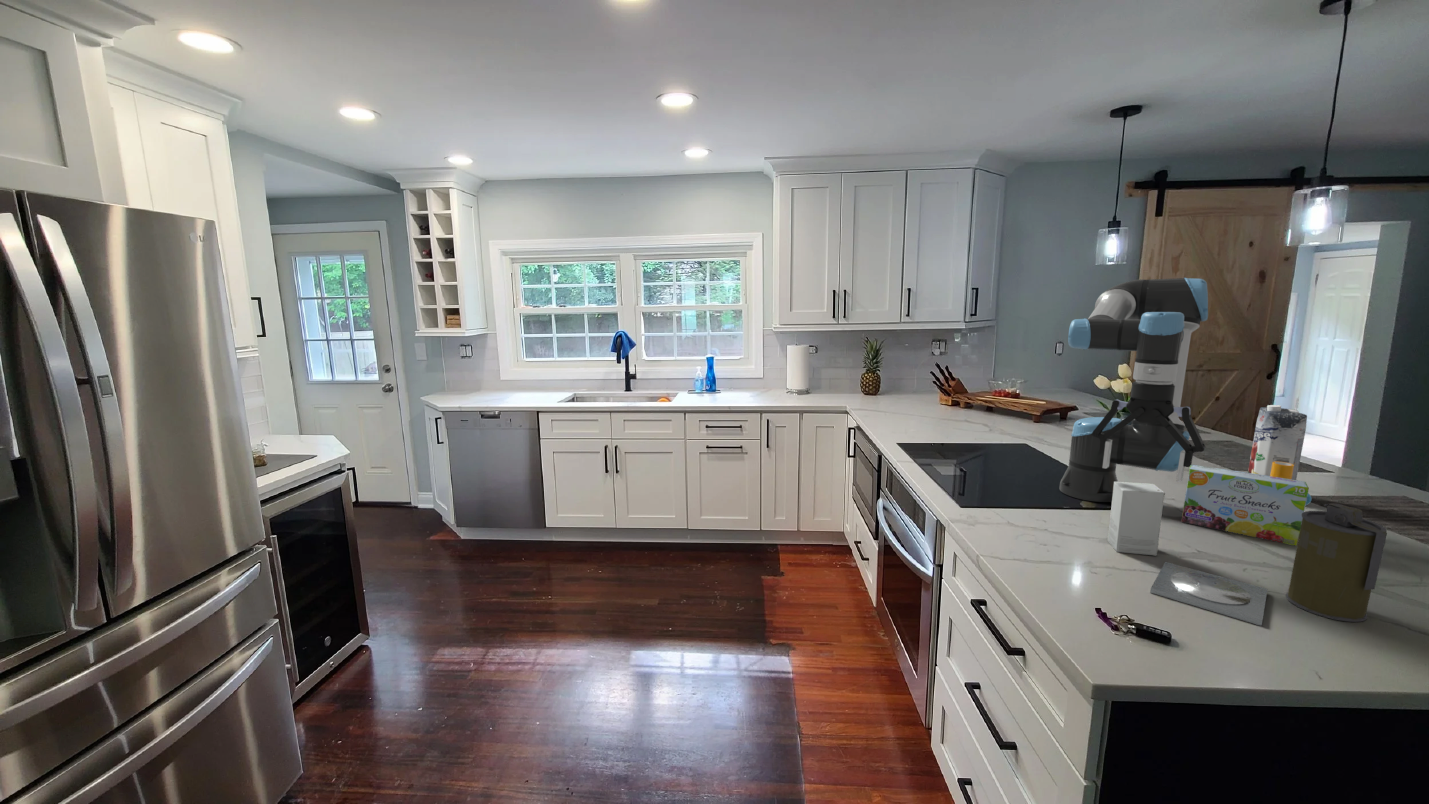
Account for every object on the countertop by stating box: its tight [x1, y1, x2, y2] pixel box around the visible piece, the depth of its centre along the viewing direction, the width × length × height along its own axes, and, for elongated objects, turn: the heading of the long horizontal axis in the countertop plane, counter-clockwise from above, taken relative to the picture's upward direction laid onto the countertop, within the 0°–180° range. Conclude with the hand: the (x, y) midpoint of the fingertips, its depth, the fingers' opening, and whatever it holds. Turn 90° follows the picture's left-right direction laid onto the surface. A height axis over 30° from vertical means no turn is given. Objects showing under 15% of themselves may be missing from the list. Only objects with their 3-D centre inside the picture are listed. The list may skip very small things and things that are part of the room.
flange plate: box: [1150, 561, 1268, 627], centre depth 110 cm, size 16×16×1 cm
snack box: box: [1180, 464, 1310, 547], centre depth 137 cm, size 21×6×15 cm, turn 47°
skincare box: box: [1107, 481, 1166, 556], centre depth 128 cm, size 8×7×16 cm
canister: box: [1285, 503, 1388, 623], centre depth 102 cm, size 11×10×20 cm
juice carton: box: [1247, 404, 1308, 480], centre depth 160 cm, size 9×10×27 cm
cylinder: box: [1270, 461, 1312, 506], centre depth 145 cm, size 12×10×15 cm
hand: (1141, 473), depth 126 cm, fingers open, 13 cm apart
